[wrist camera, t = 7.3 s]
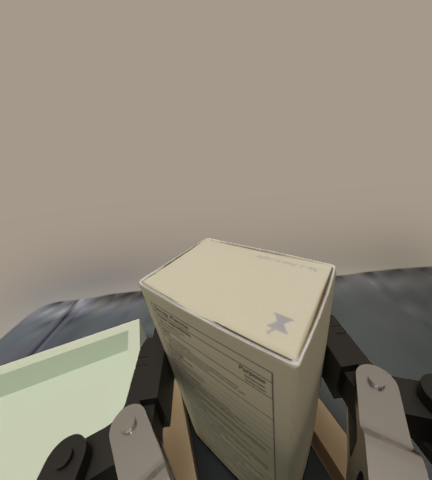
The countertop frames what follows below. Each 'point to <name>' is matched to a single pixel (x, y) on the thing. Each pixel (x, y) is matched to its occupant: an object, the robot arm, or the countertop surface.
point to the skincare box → (246, 350)
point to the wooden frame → (323, 442)
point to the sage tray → (63, 395)
